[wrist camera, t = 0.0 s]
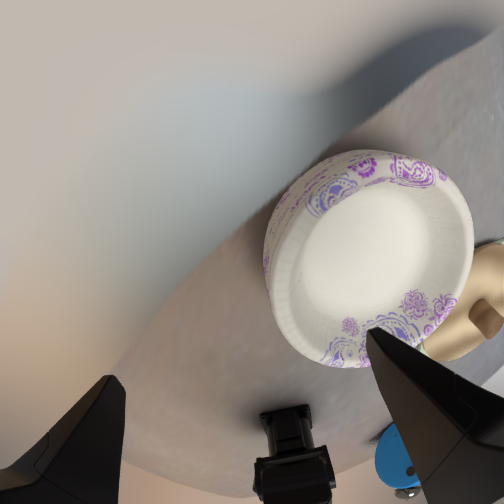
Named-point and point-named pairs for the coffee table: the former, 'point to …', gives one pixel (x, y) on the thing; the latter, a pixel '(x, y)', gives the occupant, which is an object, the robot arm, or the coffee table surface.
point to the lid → (472, 308)
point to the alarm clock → (396, 465)
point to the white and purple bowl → (366, 254)
